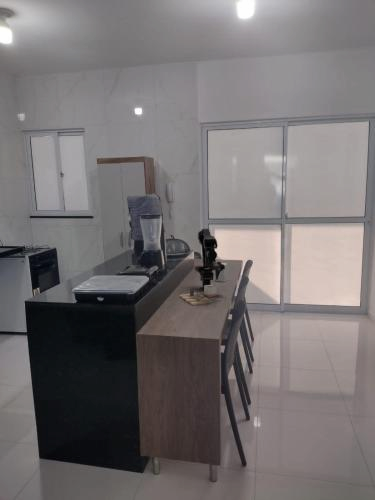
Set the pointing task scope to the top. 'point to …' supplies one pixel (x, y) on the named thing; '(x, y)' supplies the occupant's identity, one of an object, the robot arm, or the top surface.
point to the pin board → (195, 298)
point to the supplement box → (223, 274)
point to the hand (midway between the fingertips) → (210, 280)
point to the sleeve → (210, 290)
